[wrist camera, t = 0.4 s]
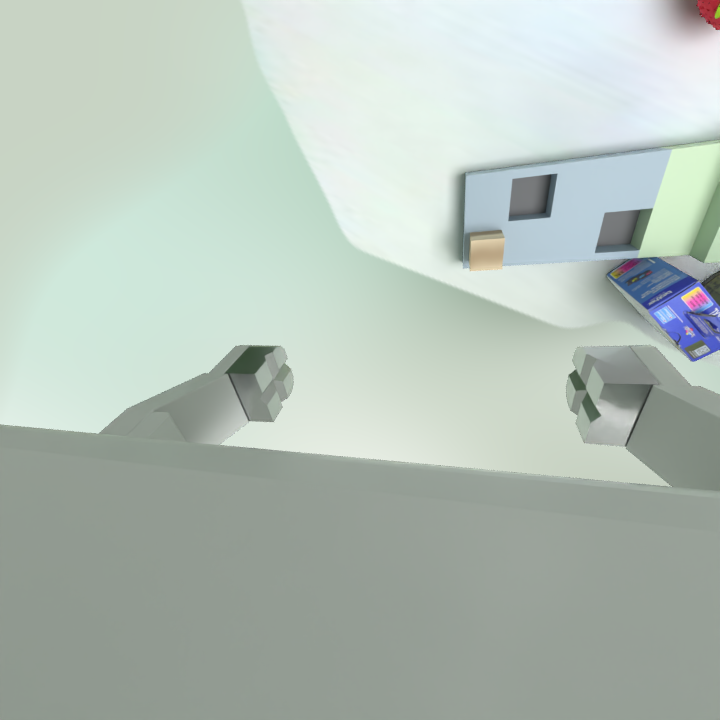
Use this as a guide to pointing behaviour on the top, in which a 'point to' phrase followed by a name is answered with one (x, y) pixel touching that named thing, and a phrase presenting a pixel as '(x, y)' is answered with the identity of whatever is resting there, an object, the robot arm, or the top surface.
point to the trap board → (601, 206)
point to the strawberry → (710, 11)
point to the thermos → (713, 286)
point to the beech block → (486, 250)
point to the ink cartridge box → (671, 304)
